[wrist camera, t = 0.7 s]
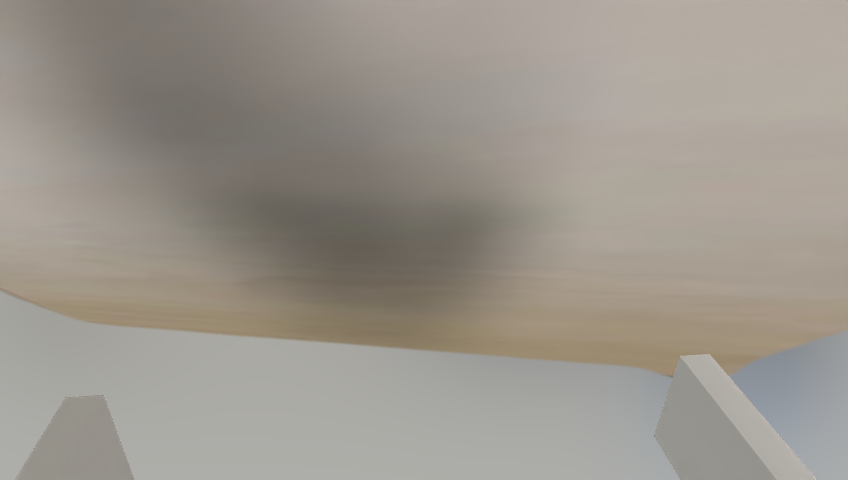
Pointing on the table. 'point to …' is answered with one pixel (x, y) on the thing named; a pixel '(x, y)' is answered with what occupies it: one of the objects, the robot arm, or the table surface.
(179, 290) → the table surface
